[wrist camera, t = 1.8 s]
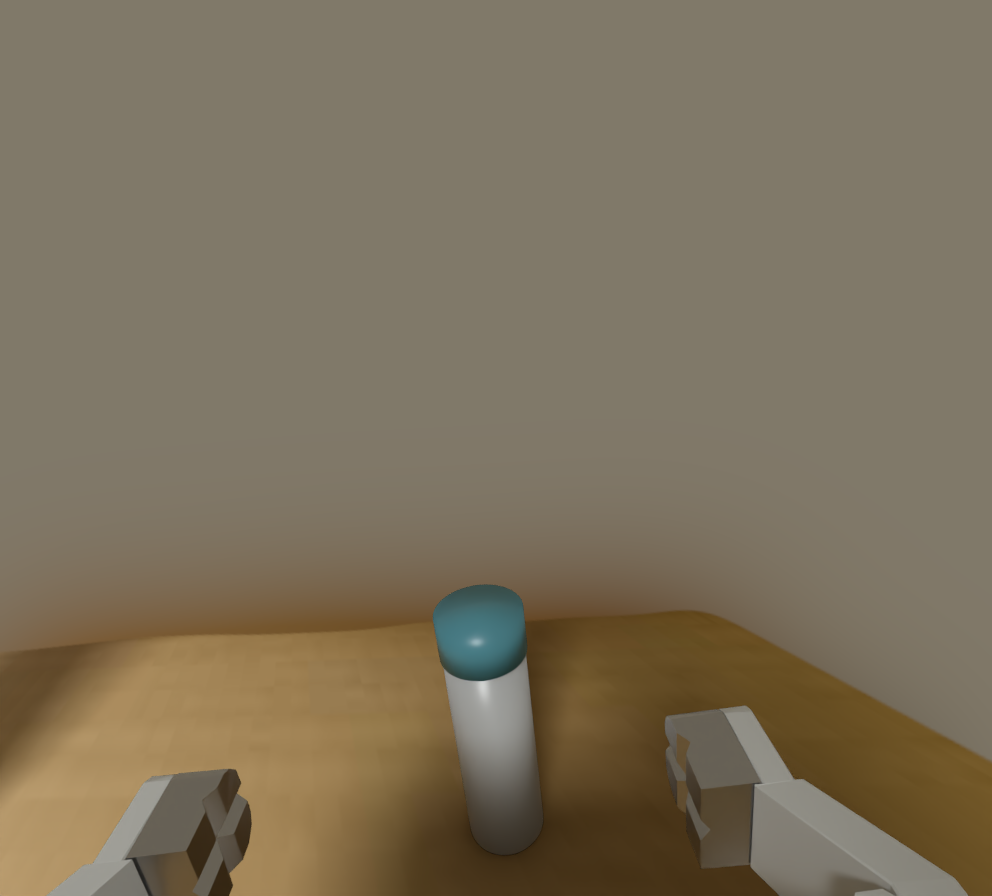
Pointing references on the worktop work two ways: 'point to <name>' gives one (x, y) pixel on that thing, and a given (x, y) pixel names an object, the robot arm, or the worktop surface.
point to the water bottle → (491, 714)
